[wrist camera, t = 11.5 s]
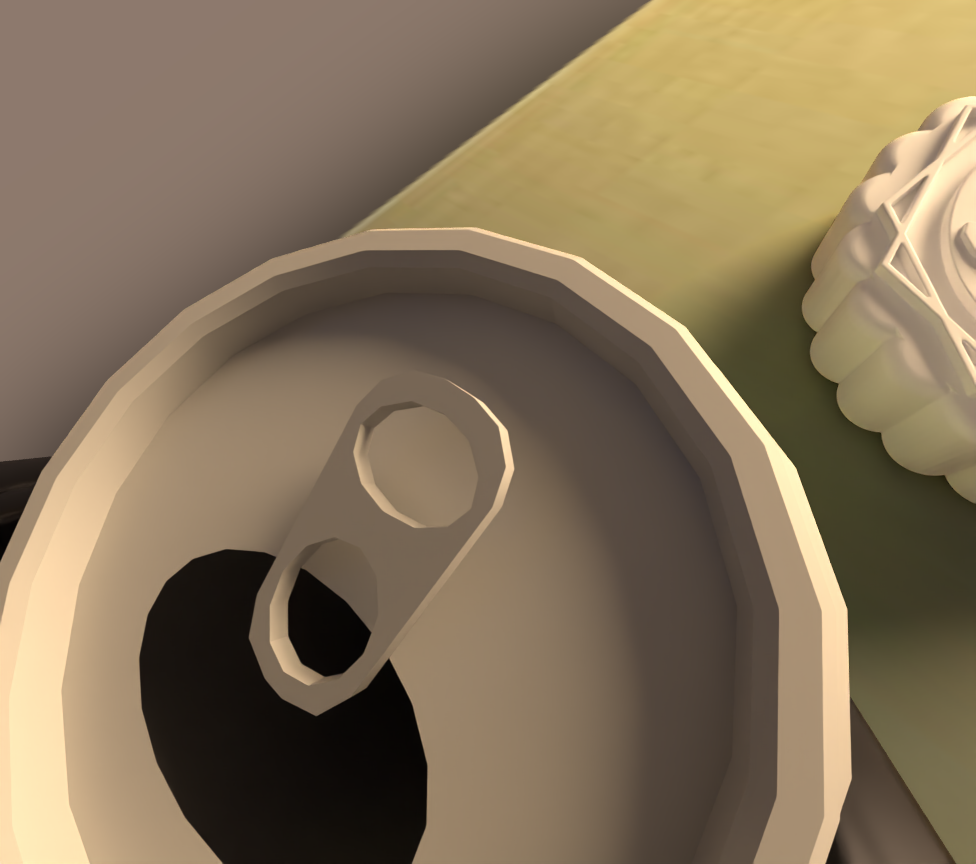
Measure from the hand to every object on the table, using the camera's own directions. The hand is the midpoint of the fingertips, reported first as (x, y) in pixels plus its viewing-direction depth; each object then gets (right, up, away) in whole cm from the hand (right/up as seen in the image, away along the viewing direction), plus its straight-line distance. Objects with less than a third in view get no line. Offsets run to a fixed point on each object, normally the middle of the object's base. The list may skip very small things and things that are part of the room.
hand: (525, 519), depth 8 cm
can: (+1, -3, +6) cm, 7 cm away
